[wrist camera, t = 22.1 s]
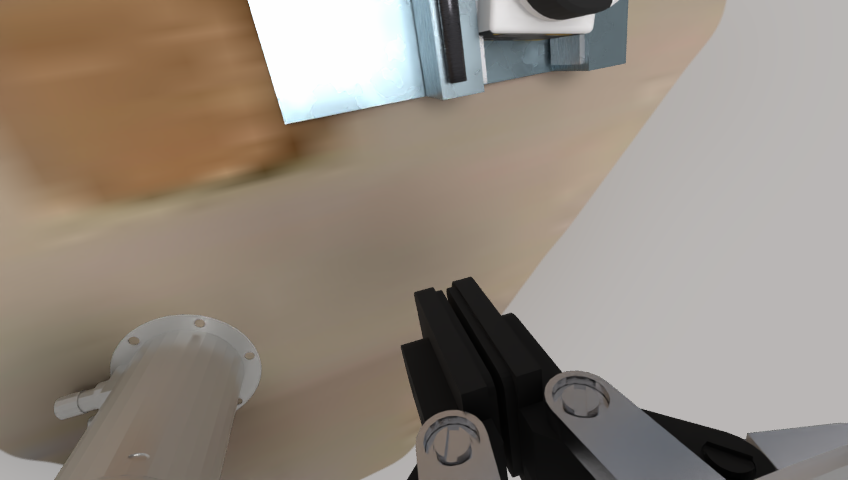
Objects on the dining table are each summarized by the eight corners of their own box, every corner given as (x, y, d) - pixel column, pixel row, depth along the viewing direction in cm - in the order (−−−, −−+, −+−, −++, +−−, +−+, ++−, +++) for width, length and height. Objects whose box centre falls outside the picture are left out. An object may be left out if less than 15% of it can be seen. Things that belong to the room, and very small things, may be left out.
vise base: (286, 122, 32) (279, 133, 26) (230, -64, 27) (206, -102, 21) (574, 64, 35) (625, 63, 30) (573, -107, 30) (634, -150, 25)
